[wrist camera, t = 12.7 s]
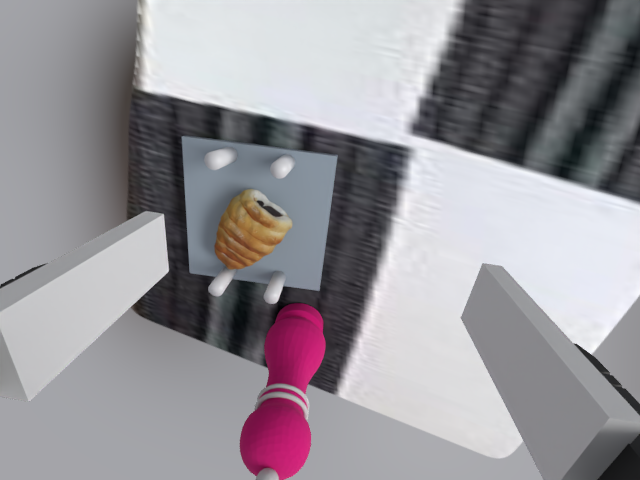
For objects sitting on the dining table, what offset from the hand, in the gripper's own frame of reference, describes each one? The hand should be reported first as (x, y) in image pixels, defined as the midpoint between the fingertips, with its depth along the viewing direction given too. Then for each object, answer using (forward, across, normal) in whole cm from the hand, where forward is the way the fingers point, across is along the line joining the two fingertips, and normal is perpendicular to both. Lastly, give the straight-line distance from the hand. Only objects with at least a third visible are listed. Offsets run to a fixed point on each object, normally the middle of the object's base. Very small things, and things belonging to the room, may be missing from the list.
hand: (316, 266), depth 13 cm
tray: (+21, -8, -7) cm, 24 cm away
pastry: (+20, -8, -8) cm, 23 cm away
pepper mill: (+21, -2, -21) cm, 30 cm away
